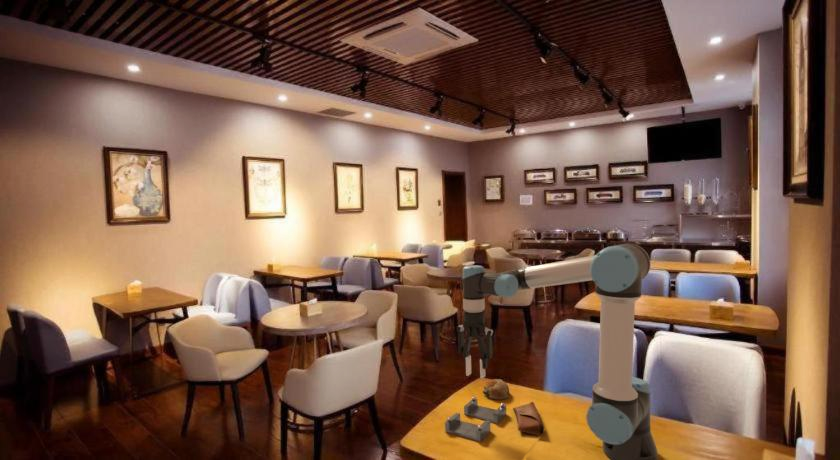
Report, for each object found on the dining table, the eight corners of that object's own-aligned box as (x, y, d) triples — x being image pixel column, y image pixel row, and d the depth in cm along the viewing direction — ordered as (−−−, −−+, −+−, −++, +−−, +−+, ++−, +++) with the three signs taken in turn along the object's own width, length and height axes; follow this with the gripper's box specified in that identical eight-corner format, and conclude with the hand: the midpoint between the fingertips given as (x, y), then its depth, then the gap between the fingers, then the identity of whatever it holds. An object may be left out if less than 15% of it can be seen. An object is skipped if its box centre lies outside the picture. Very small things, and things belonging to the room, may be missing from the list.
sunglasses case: (511, 406, 163) (522, 393, 163) (526, 418, 163) (537, 404, 163) (517, 430, 146) (530, 415, 145) (535, 443, 145) (547, 428, 145)
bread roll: (504, 410, 171) (513, 392, 170) (480, 396, 173) (489, 379, 172) (504, 399, 181) (513, 383, 180) (481, 387, 182) (490, 370, 181)
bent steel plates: (506, 414, 161) (505, 402, 161) (480, 441, 142) (479, 428, 142) (474, 407, 168) (473, 395, 168) (445, 432, 149) (444, 419, 149)
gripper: (502, 310, 152) (503, 376, 153) (456, 305, 162) (458, 368, 163) (493, 315, 146) (495, 384, 147) (446, 309, 155) (448, 374, 156)
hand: (475, 375), depth 155 cm, fingers open, 5 cm apart
